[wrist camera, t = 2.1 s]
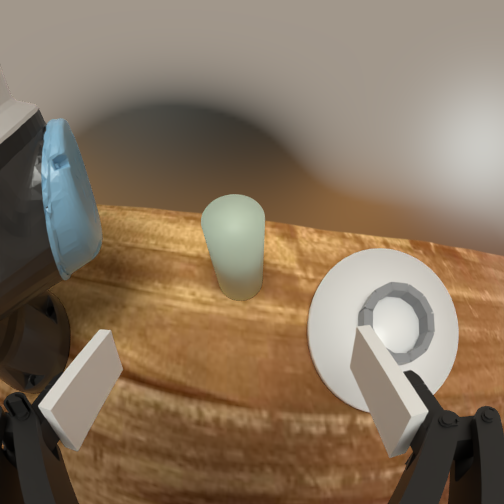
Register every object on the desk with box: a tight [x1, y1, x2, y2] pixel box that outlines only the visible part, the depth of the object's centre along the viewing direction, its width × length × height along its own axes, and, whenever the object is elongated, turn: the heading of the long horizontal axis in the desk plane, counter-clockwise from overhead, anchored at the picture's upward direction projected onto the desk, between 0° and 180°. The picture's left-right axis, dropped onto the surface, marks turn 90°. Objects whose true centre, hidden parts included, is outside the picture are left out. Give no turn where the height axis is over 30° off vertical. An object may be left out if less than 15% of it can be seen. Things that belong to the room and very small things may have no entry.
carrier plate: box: [307, 248, 458, 413], centre depth 28 cm, size 20×20×3 cm
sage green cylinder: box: [201, 194, 265, 301], centre depth 27 cm, size 5×5×12 cm
